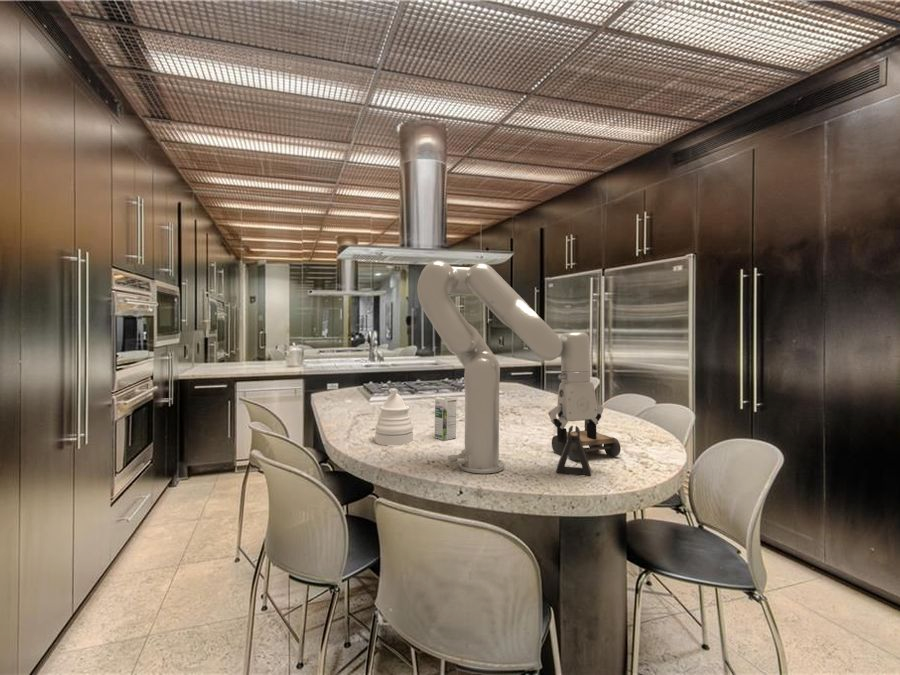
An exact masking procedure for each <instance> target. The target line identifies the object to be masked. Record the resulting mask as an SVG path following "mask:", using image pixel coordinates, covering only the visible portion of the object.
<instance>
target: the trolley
mask: <svg viewBox="0 0 900 675" xmlns="http://www.w3.org/2000/svg"><path fill="white" fill-rule="evenodd" d="M587 423H589V422H588V421H587V420H584V430H580V440H581V443H582V446H583V449H584V451H585V452H593V451H602V450H603V451H604V452H605V454H606V455H607V456H608V455H609V457H618V456H619V455H620V453H621V443H620V442H619V440H618V439H617V438H615V437H611V436H609V435H606V434H603V433H599V432H598V431H596V433H597V434H596V439H595V440H594V439H591V438H588V437H587ZM570 433H571V434H572V435H574V436H576V435H577V434H578V433H577V432H576V431H573V430H572V431H571V432H570ZM567 440H568V431H567ZM565 445H566V443H565V444H564V443H561V442H558V438H557V435H554V436H553V437H552V439H551V448H552V450H553V452H554V453H555V454H557V455H562V452H563V450H564V447H565ZM586 446H588V447H586ZM568 458H569V459H570V460H571V461H572V462H577V461H580V457H579V453H578V449H577V445H576V444H575V443H572V444H571V446H570V450H569V453H568Z"/></svg>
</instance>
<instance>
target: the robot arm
mask: <svg viewBox="0 0 900 675" xmlns="http://www.w3.org/2000/svg"><path fill="white" fill-rule="evenodd" d="M416 289H417V297H418V302H419V305H420V307H421V309H422V311H423V312H424V314H425V315H426V317H427V318H428V320H429V322H430V323H431V325H432V327H433V328H434V329H435V331H436V333H437V334H438V336H439V337H440V339H441V340H442V342H443V343H444V345H445V347H446V349H447V350H448V351H449V352H450V353H452V354H453V355H455V356H456V358H457V359H458V361H459V362H460V364H461V365H462V367H463V368H464V376H463V379H464V449H461V451H460V453H458V454H449V455H448V456H447V461H448V463H456V464H458V468H460V469H461V470H462V471H464V472H468V473H473V474H483V475H484V474H495V473H499V472H501V471H503V470H504V469H505V463H504V462H503V461H502V460H500V458H499V456H500V453H499V452H500V445H499V444H500V378H501V366H500V363H499V361H498V358H497V357H496V356H495V355H494V353H493V351H492V350H491V349H490V347H489V345H487V343H486V341H485V340H484V338H483V337H482V335H481V334H480V333H479V331H478V330H477V328H475V326H473V325H472V324H470V323H469V322H468V321H467V320H466V318H465V317H464V315H463V313H462V312H461V311H460V310H459V308H458V306H457V305H456V304H455V302H454V301H453V299H452V298H451V295H454V296H475V297H477V298H478V299H479V300H480V301H481V302H482V303H483V304H484V305H485V307H487V309H489V310H490V311H491V313H492V314H494V315H495V317H496V318H497V319H498V320H499V321H500V322H501V323H502V324H503V325H505V326H506V327H508V328H509V329H510V330H512V332H514V333H515V334H516V335H517V337H519V338H520V339H521V340H522V342H524V343H525V345H526V346H527V347H528V348H529V349H530V350H531V351H532V352H533V354H534V355H535V356H537V357H538V358H539V359H540V360H543V361H546V362H550V361H555V360H556V359H558V358H560V366H561V367H560V369H561V370H560V374H558V376H557V378H558V380H560V381H561V382H560V383H559V386H558V391H557V406H555V407H554V408H551V410H549V411H548V413H547V414H548V417H549V419H550V421H551V423H552V424H553V425H554V427H555V428H556V436H557V438H558V442H561V443H564V444H565V443H567V432H568V431H567V428H566V426H567V424H568V423H569V422H579V421H580V422H581V421H585V420H587V421H588V422H589V423H587V437H588V438H591V439H594V440H595V439H596V434H597V433H598V432H597V425H599V421H600V419H601V418H602V415H603V412H604V407H603V406H602V405H599V404H597V397H596V389H595V385H594V383H593V381H591V364H590V362H591V361H590V359H591V357H590V337H589V334H588V333H587V332H583V331H577V332H572V331H569V332H565V333H556V332H555V331H554V330H553V329H552V327H550V326H549V325H548V323H546V321H545V320H543V319H542V318H541V317H540V316H539V315H538V314H537V313H536V312H535V311H534V310H533V309H532V307H530V305H529V304H528V303H527V301H525V299H524V298H522V297H521V296H520V294H518V293H517V292H516V290H515V289H513V287H511V285H510V284H509V283H507V281H505V278H504V279H503V277H502V276H501V275H500V274H499V273H498V272H497V271H496V270H495V269H494V268H493V266H490V265H489V264H488V263H483V262H479V263H478V262H477V263H475V264H474V265H472V266H470V267H469V266H468V267H467V266H466V267H465V266H452V265H451V264H449V263H448V262H446V261H443V260H433V261H430V262H428V263H427V264H426V265H425V267H424V268H422V271H421V272H420V274H419V278H418V281H417V288H416ZM596 432H597V433H596Z"/></svg>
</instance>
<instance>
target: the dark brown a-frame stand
mask: <svg viewBox="0 0 900 675" xmlns="http://www.w3.org/2000/svg"><path fill="white" fill-rule="evenodd" d="M573 430H574V426H573V425H571V426H569V427H568V431H567V432H568V440H567V443H566V445H565V447H564V450H563V452H562V454H560V457H559V460H558V462H557V464H556V470H555V473H556V474H559V475H569V474H572V475H571V476H573V475H574V476H580V475H585V476H584V477H592V472H591V467H590V463H589V460H588V458H587V455H586V451H584V449H583V448H584V446H582V443H581V440H580V431H581V430H580V427H578V426H577V425H576V426H575V431H576V432H577V433H578V434H577V435H576V436H574V435H572V434H571V433H570V432H573ZM572 443H575V444H576V445H577V449H578V453H579V457H580V460H579V461H580V464H581V467H575V466H566V464H567V460H568V458H569V456H568V453H569V450H570V446H571V444H572Z"/></svg>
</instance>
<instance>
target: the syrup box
mask: <svg viewBox="0 0 900 675" xmlns="http://www.w3.org/2000/svg"><path fill="white" fill-rule="evenodd" d="M434 399H435V400H434V430H433V431H434V432H433V433H434V437H433V438H434V439H437V438H438V440H441V441H444V440H446V441H449V440H448V439H450V440H454V439H453V438H455V439H456V438H457V405H458V404H457V402H458V401H457V397H451V396H438V397H437V396H436V397H435V398H434Z"/></svg>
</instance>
